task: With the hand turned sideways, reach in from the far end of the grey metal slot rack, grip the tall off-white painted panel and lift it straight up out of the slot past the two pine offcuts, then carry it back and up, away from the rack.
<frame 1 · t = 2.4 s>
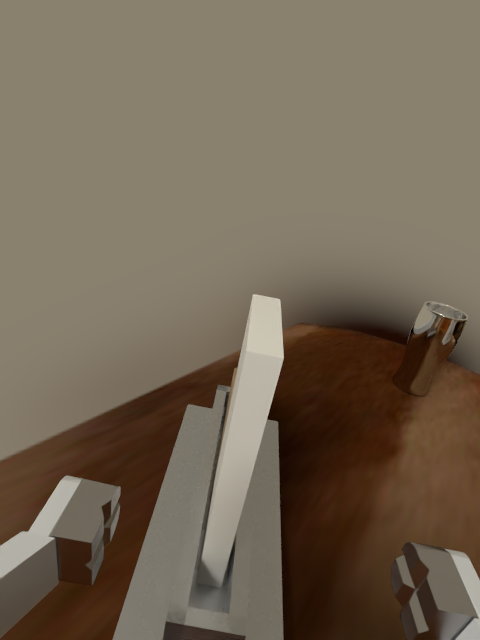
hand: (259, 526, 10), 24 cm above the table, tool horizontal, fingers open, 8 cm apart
slot rack: (218, 506, 36), on the table
beer glass: (409, 386, 64), on the table
tall panel: (215, 536, 32), point 1 cm above the table, touching slot rack
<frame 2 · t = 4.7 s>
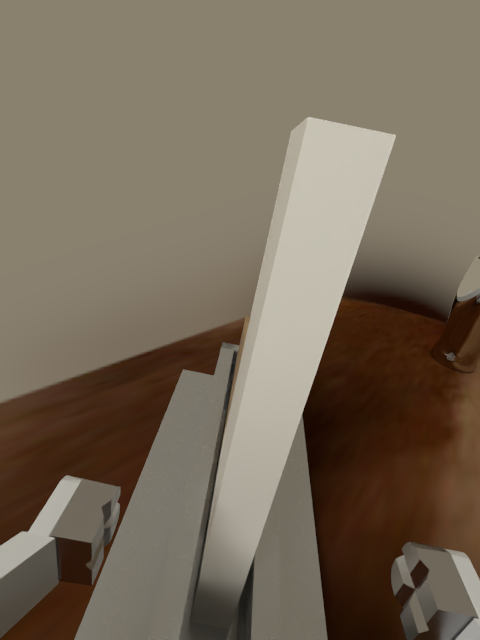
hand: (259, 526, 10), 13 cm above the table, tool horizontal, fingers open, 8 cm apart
slot rack: (224, 501, 25), on the table
beer glass: (451, 361, 53), on the table
tall offcut: (232, 453, 28), point 1 cm above the table, touching slot rack
tall panel: (220, 544, 21), point 1 cm above the table, touching slot rack
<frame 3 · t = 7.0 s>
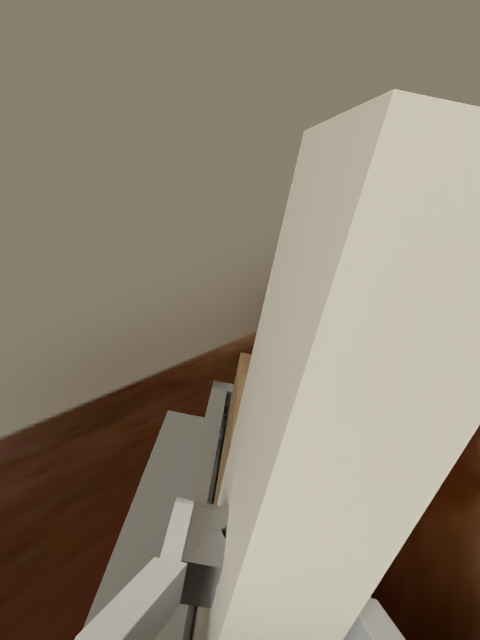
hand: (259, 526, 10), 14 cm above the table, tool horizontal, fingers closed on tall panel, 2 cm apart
slot rack: (213, 598, 20), on the table
tall offcut: (223, 530, 22), point 1 cm above the table, touching slot rack
short offcut: (232, 460, 27), point 1 cm above the table, touching slot rack
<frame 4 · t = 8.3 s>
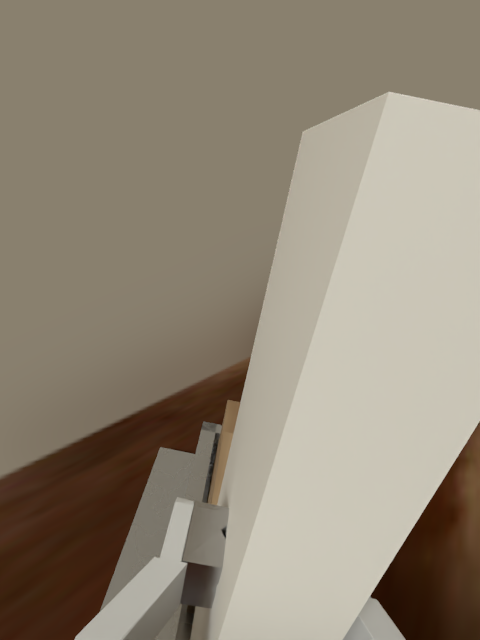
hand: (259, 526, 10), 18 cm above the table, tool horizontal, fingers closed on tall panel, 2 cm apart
slot rack: (197, 637, 22), on the table
tall offcut: (208, 571, 24), point 1 cm above the table, touching slot rack
short offcut: (219, 499, 29), point 1 cm above the table, touching slot rack
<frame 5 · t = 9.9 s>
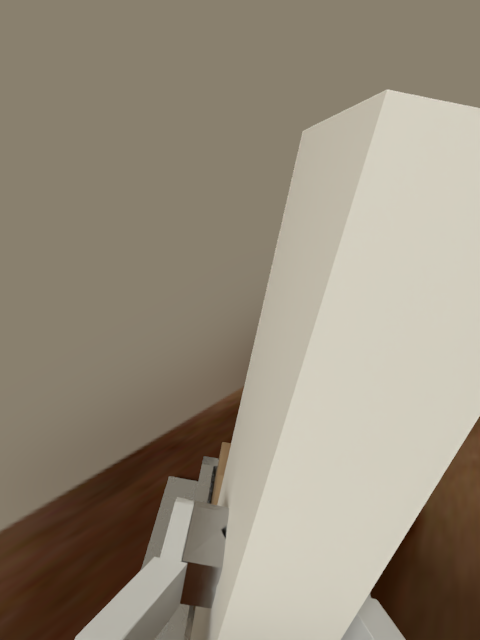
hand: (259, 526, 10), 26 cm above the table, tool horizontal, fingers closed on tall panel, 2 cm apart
slot rack: (201, 628, 29), on the table
short offcut: (217, 519, 36), point 1 cm above the table, touching slot rack
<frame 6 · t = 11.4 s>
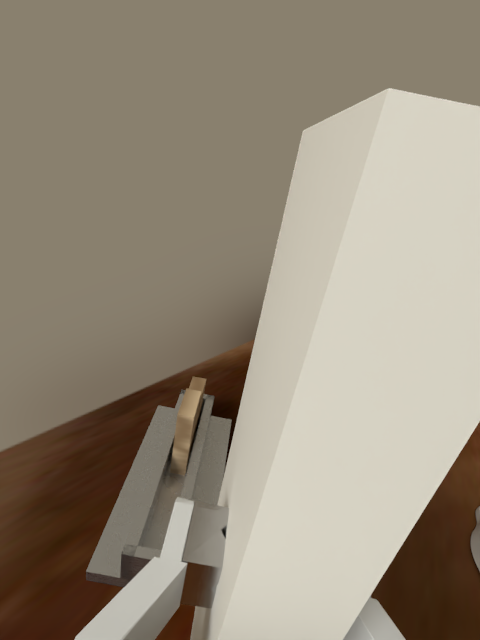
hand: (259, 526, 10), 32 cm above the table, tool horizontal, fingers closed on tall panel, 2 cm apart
slot rack: (175, 485, 47), on the table
tall offcut: (181, 459, 49), point 1 cm above the table, touching slot rack
short offcut: (189, 430, 54), point 1 cm above the table, touching slot rack
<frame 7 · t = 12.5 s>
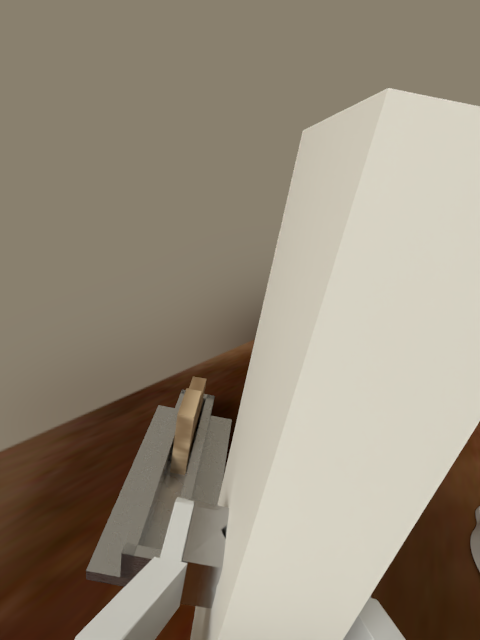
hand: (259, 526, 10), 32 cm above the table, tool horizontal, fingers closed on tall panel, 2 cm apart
slot rack: (175, 484, 47), on the table
tall offcut: (181, 458, 49), point 1 cm above the table, touching slot rack
short offcut: (190, 430, 54), point 1 cm above the table, touching slot rack
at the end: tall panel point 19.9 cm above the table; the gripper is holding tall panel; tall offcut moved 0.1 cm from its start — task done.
